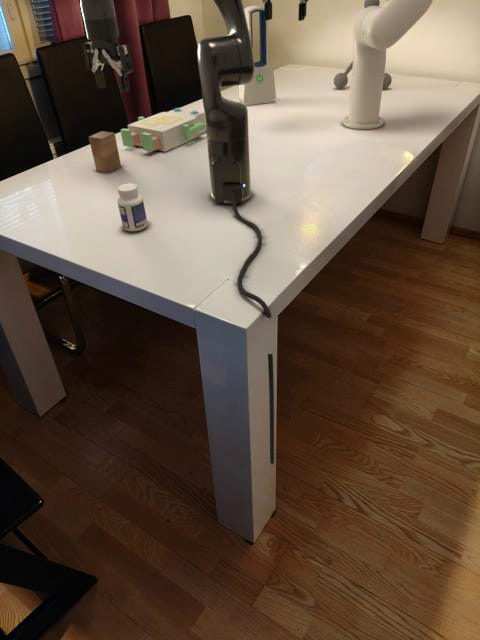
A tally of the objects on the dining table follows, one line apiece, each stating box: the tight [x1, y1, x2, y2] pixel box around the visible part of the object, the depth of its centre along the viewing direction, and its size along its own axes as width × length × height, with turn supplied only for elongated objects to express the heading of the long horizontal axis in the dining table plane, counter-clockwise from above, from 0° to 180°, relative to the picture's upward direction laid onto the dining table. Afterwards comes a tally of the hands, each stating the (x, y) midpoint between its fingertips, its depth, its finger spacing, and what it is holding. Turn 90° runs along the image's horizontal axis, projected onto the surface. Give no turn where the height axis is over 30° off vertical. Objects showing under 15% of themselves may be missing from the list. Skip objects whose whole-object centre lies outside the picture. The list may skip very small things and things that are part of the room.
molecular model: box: [333, 0, 393, 90], centre depth 184 cm, size 24×22×30 cm
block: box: [88, 130, 122, 174], centre depth 131 cm, size 4×5×9 cm
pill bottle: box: [117, 182, 148, 232], centre depth 102 cm, size 5×5×9 cm
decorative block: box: [120, 107, 206, 153], centre depth 149 cm, size 26×6×20 cm
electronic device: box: [238, 5, 277, 106], centre depth 173 cm, size 12×8×30 cm, turn 105°
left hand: (113, 89), depth 125 cm, fingers open, 8 cm apart
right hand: (285, 19), depth 135 cm, fingers open, 9 cm apart
